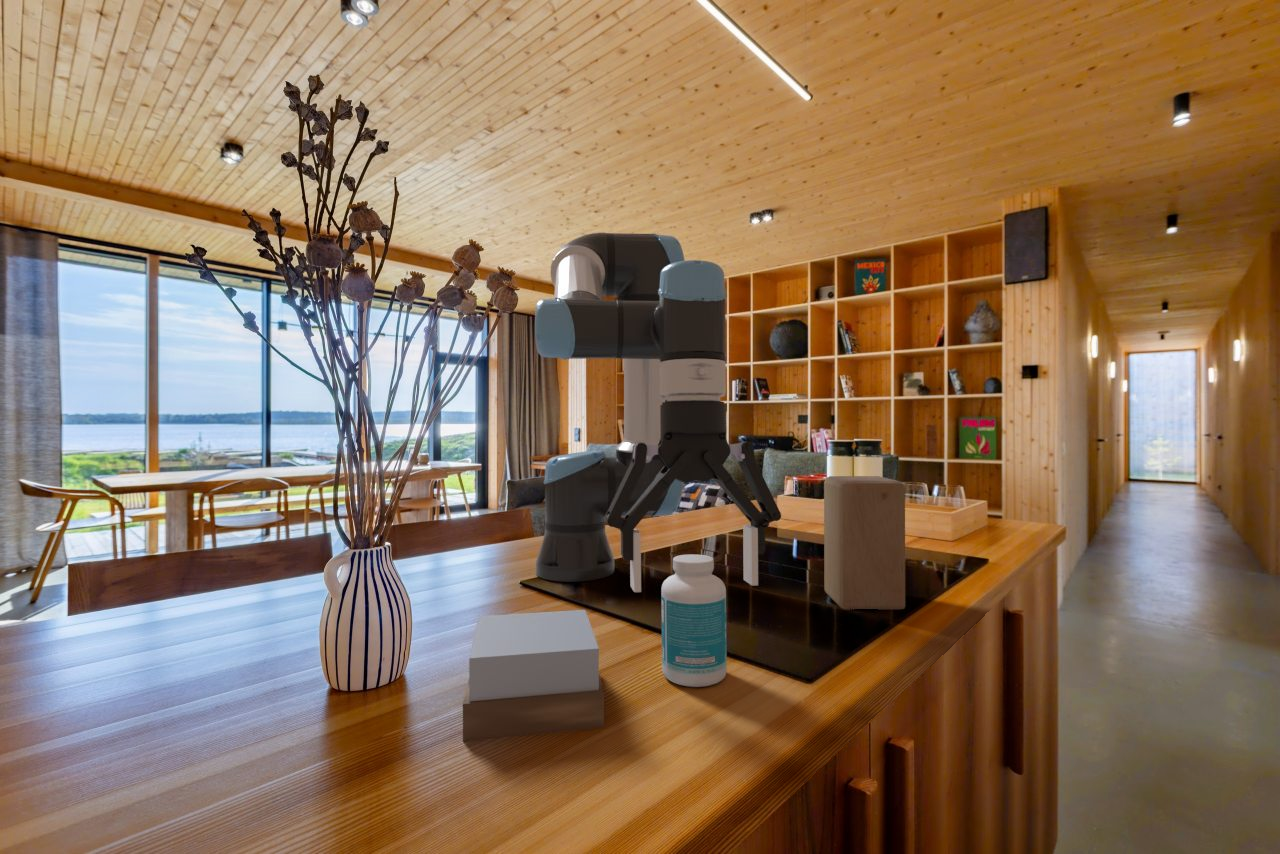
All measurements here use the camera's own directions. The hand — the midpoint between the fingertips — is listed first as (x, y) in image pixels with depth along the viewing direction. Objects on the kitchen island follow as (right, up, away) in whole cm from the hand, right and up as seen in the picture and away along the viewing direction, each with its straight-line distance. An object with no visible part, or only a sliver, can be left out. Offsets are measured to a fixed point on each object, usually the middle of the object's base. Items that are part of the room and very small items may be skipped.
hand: (694, 586), depth 67 cm
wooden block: (+30, -10, +27) cm, 41 cm away
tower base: (-17, -11, -6) cm, 21 cm away
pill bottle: (0, -11, 0) cm, 11 cm away
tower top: (-17, -7, -6) cm, 20 cm away
